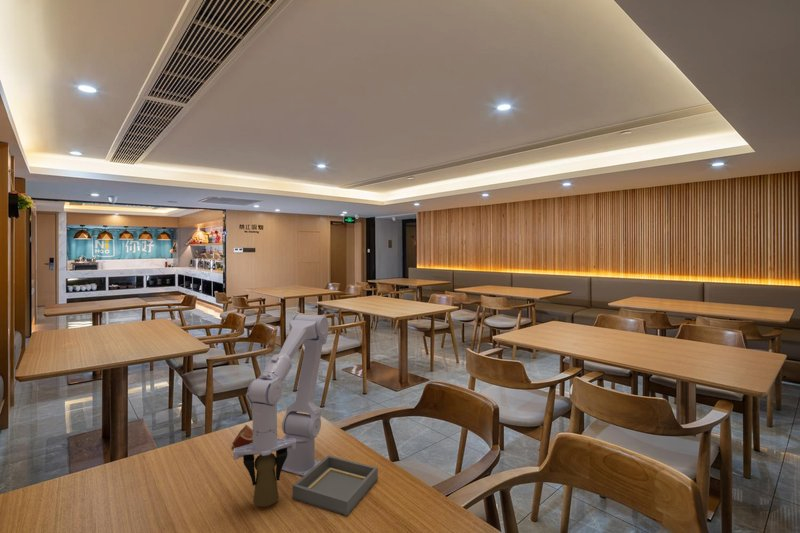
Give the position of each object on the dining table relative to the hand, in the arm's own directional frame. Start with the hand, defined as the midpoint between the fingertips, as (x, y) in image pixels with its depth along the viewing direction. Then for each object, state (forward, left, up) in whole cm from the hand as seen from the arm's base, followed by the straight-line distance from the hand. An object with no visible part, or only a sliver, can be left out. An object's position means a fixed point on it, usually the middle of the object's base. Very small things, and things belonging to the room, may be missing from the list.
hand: (265, 480), depth 100 cm
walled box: (+13, +12, -6) cm, 19 cm away
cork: (0, 0, -5) cm, 5 cm away
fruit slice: (-27, +20, -6) cm, 34 cm away
